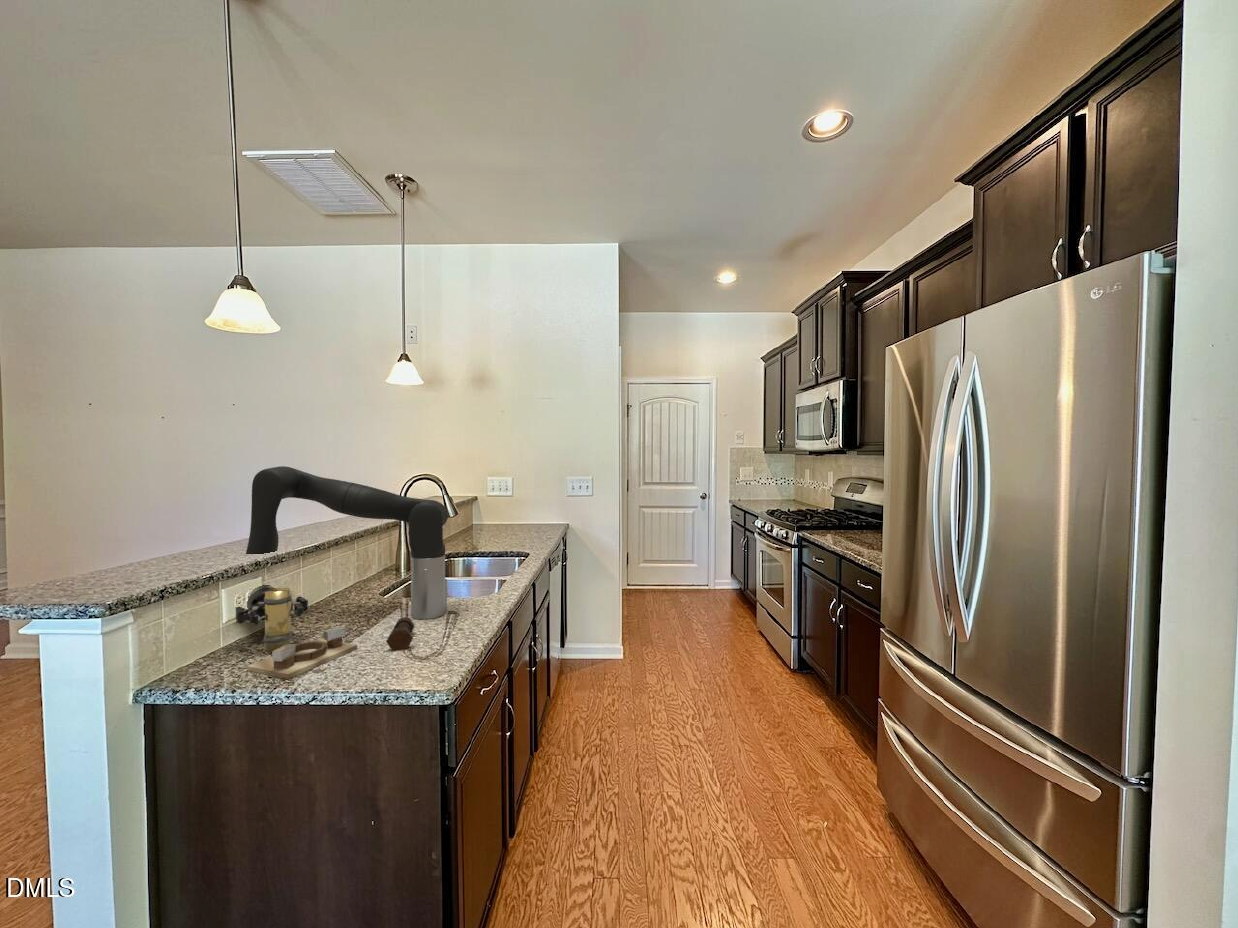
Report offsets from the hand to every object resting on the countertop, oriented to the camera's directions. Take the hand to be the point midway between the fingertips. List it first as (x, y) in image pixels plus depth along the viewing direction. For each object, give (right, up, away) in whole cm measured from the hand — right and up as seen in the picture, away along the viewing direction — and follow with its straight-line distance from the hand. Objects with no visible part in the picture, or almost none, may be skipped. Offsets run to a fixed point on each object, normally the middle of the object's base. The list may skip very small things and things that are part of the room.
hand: (278, 615), depth 114 cm
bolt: (+26, -9, +7) cm, 29 cm away
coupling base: (+10, -8, -5) cm, 14 cm away
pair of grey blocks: (+11, -5, -6) cm, 14 cm away
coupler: (0, -8, 0) cm, 8 cm away
